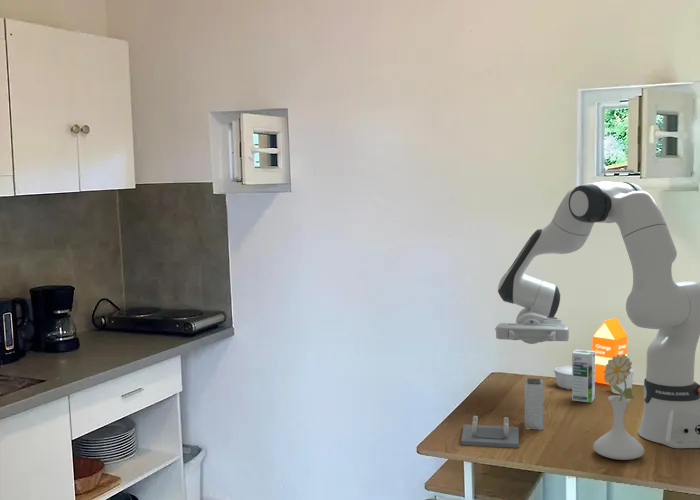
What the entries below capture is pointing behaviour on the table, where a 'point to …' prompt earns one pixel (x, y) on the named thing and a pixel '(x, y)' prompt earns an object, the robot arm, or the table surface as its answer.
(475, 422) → the stand
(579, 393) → the syrup box
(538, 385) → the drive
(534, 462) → the table surface
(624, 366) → the flower in vase
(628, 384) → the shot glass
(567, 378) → the ramekin
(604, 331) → the orange juice
